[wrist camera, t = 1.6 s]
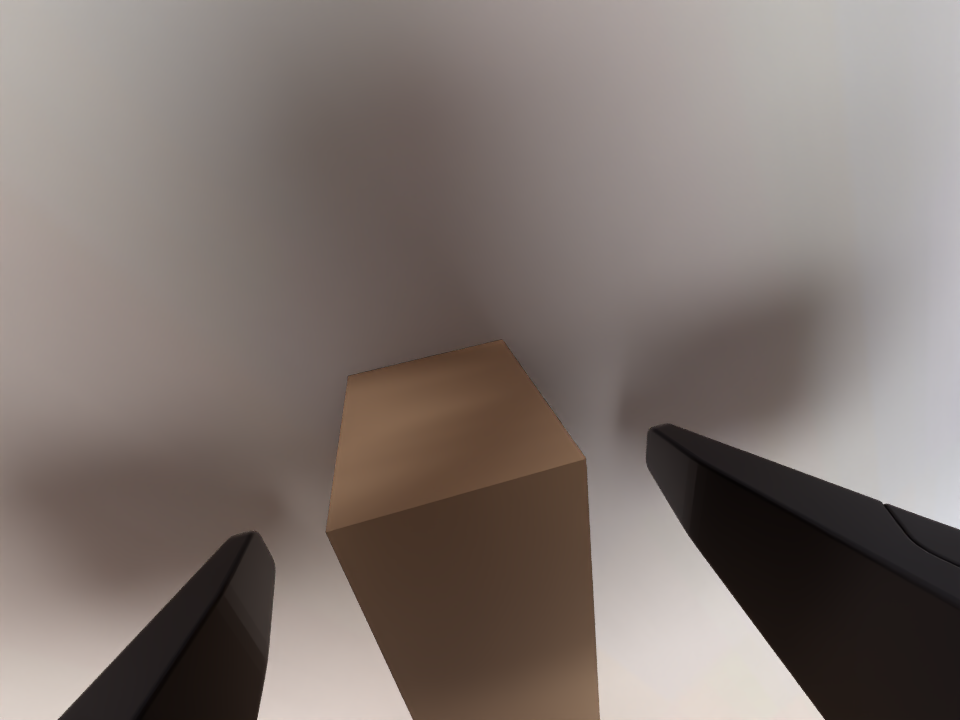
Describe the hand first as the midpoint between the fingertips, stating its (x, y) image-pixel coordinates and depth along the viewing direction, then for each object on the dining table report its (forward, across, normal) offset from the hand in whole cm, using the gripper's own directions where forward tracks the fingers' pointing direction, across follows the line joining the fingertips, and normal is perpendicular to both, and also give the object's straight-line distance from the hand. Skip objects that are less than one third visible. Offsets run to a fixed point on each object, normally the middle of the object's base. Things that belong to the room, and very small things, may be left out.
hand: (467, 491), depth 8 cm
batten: (+1, 0, +6) cm, 7 cm away
